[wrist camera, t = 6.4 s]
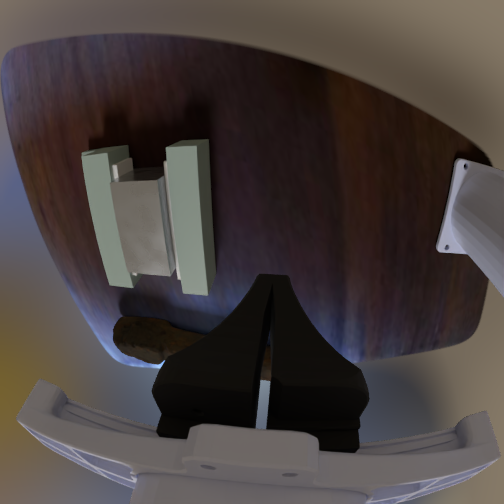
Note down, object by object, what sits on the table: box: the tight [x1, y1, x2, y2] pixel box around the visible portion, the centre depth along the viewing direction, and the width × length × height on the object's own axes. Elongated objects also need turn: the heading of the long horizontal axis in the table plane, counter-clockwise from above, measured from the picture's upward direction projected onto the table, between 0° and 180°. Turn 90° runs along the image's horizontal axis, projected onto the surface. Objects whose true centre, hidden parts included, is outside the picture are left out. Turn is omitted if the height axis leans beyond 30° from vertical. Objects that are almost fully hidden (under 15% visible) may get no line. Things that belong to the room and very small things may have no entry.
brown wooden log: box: [113, 317, 271, 381], centre depth 26 cm, size 19×4×5 cm, turn 79°
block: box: [110, 167, 176, 276], centre depth 20 cm, size 4×7×4 cm, turn 0°
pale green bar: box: [81, 145, 143, 288], centre depth 21 cm, size 4×11×3 cm, turn 0°
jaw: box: [164, 139, 216, 295], centre depth 20 cm, size 2×11×3 cm, turn 0°
